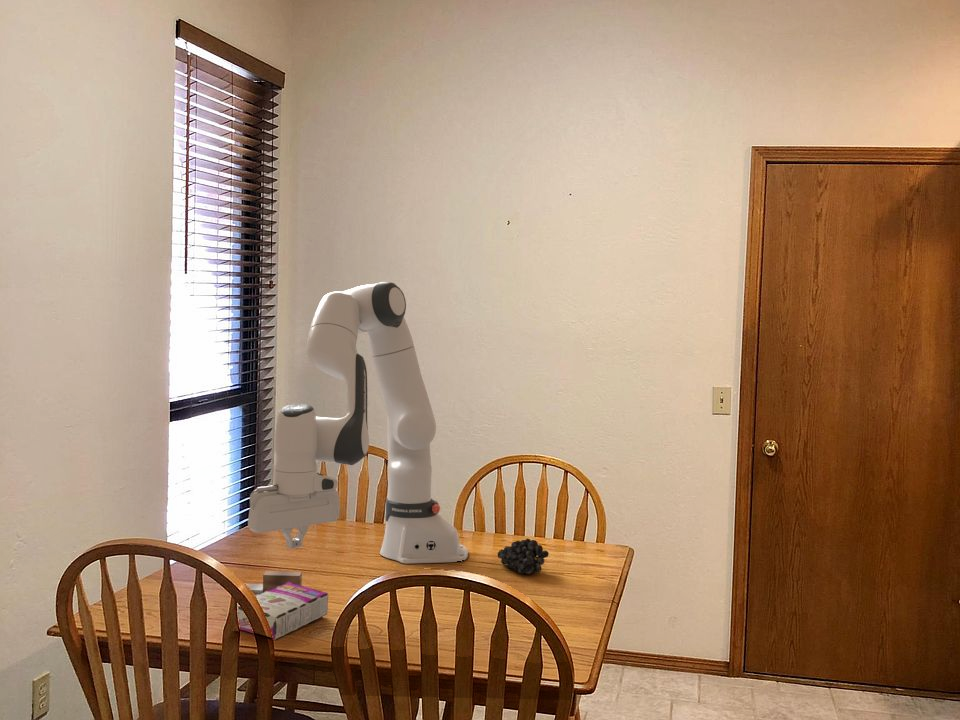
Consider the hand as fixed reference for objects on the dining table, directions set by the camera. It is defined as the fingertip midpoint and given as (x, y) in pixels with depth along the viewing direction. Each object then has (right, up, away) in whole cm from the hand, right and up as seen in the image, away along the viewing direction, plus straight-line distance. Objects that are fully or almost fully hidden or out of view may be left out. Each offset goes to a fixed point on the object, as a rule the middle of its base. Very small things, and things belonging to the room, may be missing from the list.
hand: (294, 547), depth 208 cm
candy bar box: (+3, -10, -1) cm, 11 cm away
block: (-7, -12, +11) cm, 17 cm away
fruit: (+49, -12, +35) cm, 61 cm away
